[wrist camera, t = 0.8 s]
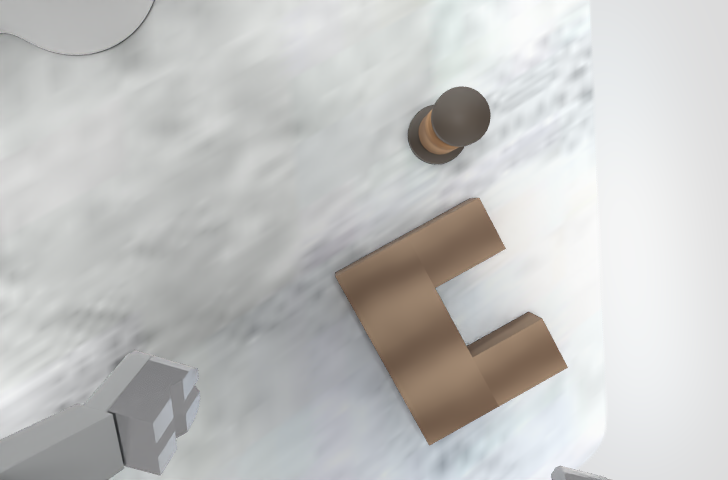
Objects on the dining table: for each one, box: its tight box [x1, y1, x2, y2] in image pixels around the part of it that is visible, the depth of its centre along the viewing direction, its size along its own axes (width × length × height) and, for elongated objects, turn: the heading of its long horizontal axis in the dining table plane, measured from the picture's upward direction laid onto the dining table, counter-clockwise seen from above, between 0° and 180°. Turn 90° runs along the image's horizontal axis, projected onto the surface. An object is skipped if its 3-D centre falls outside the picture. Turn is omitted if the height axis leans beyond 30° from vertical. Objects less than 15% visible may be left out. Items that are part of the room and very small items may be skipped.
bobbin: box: [408, 87, 490, 164], centre depth 40 cm, size 5×5×9 cm
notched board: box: [335, 198, 568, 445], centre depth 44 cm, size 17×14×3 cm
